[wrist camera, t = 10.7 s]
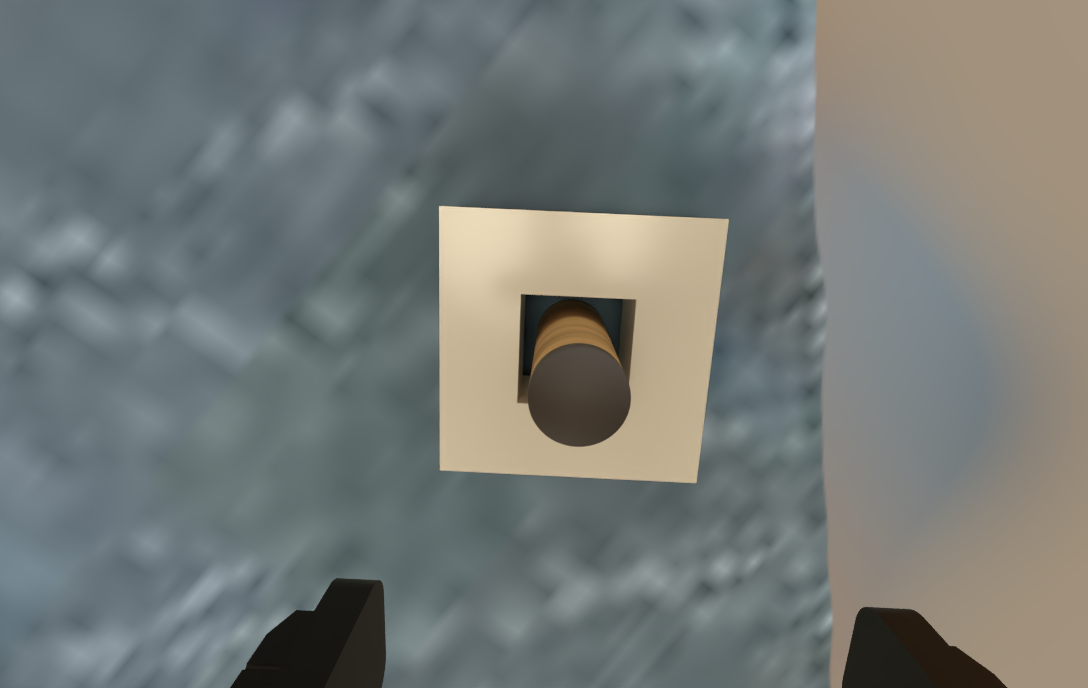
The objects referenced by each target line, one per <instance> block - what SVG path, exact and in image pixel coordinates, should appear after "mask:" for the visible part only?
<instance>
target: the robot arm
mask: <svg viewBox="0 0 1088 688" xmlns="http://www.w3.org/2000/svg"><path fill="white" fill-rule="evenodd" d="M385 663H386V644H385V614H384V589H383V584H382V582H381V581H380V580H362V579H343V578H336V579H335V580H333V581H332V583H331V584H330V586H329V587H328V589H327V591H326V592H325V594H324V595H323V597H322V599H321V600H320V602H319V604H318V605H317V607H316V609H315V610H314V611H302V610H296V611H295V612H294V613H292V614H291V615H290V616H289V617H287V618H286V619H285V620H284V621H282V622H281V623H280V624H279V625H278V626H276V627H275V628H274V629H273V630H271V631H270V632H269V633H268V634H267V635H266V636H265V638H264V639H263V641H262V642H261V644H260V645H259V646H258V648H257V649H256V651H255V652H254V654H253V655H252V657H251V658H250V660H249V661H248V663H247V666H246V669H245V670H242V671H241V673H240V674H239V676H238V677H237V679H236V680H235V682H234V683H233V684H232V686H231V687H230V688H381V687H382V683H383V678H384V671H385ZM842 688H1007V687H1006V686H1005V685H1004V684H1003V683H1002V682H1001V681H1000V680H999V679H998V678H997V677H996V676H995V674H993V673H992V672H990V671H989V670H988V669H986V668H985V667H983V666H982V665H981V664H979V663H978V662H976V661H975V660H974V659H972V658H971V657H969V656H968V655H967V654H965V653H964V652H963V651H961V650H960V649H958V648H957V647H956V646H949V645H948V644H947V643H946V642H945V641H944V639H943V638H942V637H941V636H940V635H939V634H938V633H937V632H936V631H935V630H934V629H933V627H932V626H931V625H930V624H929V623H928V622H927V621H926V620H925V619H924V617H922V616H921V615H920V614H919V613H918V612H916V611H914V610H910V609H893V608H874V607H864V608H862V609H860V611H859V612H858V614H857V617H856V620H855V625H854V630H853V635H852V639H851V644H850V649H849V653H848V657H847V662H846V666H845V671H844V676H843V681H842Z"/></svg>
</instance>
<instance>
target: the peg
mask: <svg viewBox="0 0 1088 688" xmlns="http://www.w3.org/2000/svg"><path fill="white" fill-rule="evenodd" d="M630 404H631V391H630V386H629V383H628V380H627V378H626V375H625V373H624V371H623V368H622V366H621V364H620V361H619V359H618V357H617V354H616V352H615V350H614V347H613V345H612V343H611V340H610V338H609V336H608V333H607V331H606V328H605V326H604V324H603V321H602V319H601V317H600V315H599V313H598V312H597V311H596V310H595V309H594V308H593V307H592V306H591V305H589V304H587V303H586V302H583V301H580V300H574V299H568V300H563V301H559V302H557V303H555V304H553V305H552V306H550V307H549V308H548V309H547V310H546V311H545V313H544V314H543V316H542V317H541V319H540V322H539V326H538V332H537V339H536V345H535V351H534V358H533V364H532V370H531V377H530V383H529V390H528V407H529V411H530V414H531V417H532V419H533V421H534V423H535V424H536V426H537V427H538V428H539V429H540V431H541V432H543V433H544V434H545V435H546V436H547V437H549V438H550V439H552V440H554V441H555V442H558V443H560V444H563V445H567V446H573V447H585V446H591V445H595V444H598V443H600V442H603V441H604V440H606V439H608V438H609V437H611V436H612V435H613V434H615V433H616V432H617V431H618V430H619V428H620V427H621V426H622V425H623V423H624V421H625V420H626V418H627V415H628V413H629V409H630Z"/></svg>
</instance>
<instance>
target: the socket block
mask: <svg viewBox="0 0 1088 688" xmlns="http://www.w3.org/2000/svg"><path fill="white" fill-rule="evenodd" d="M728 222H729V219H712V218H690V217H667V216H645V215H623V214H601V213H579V212H557V211H535V210H513V209H491V208H469V207H447V206H439V315H440V470H445V471H465V472H485V473H504V474H524V475H544V476H564V477H584V478H604V479H624V480H644V481H664V482H684V483H696V482H697V474H698V465H699V457H700V449H701V441H702V433H703V425H704V417H705V409H706V401H707V392H708V384H709V376H710V368H711V360H712V352H713V344H714V336H715V328H716V320H717V311H718V303H719V295H720V287H721V279H722V271H723V263H724V255H725V247H726V238H727V230H728ZM526 294H529V295H550V296H572V297H593V298H614V299H623V305H622V318H621V330H620V343H619V355H618V359H619V361H620V364H621V366H622V368H623V371H624V373H625V375H626V378H627V380H628V383H629V386H630V391H631V404H630V409H629V413H628V415H627V418H626V420H625V421H624V423H623V425H622V426H621V427H620V428H619V430H618V431H617V432H616V433H615V434H613V435H612V436H611V437H609V438H608V439H606V440H604V441H603V442H600V443H598V444H595V445H591V446H585V447H573V446H567V445H563V444H560V443H558V442H555V441H554V440H552V439H550V438H549V437H547V436H546V435H545V434H544V433H543V432H541V431H540V429H539V428H538V427H537V426H536V424H535V423H534V421H533V419H532V417H531V414H530V411H529V407H528V390H529V383H530V377H531V376H528V375H523V355H524V328H525V300H526Z"/></svg>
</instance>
